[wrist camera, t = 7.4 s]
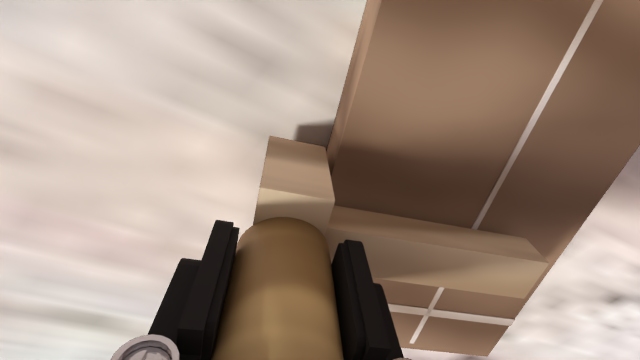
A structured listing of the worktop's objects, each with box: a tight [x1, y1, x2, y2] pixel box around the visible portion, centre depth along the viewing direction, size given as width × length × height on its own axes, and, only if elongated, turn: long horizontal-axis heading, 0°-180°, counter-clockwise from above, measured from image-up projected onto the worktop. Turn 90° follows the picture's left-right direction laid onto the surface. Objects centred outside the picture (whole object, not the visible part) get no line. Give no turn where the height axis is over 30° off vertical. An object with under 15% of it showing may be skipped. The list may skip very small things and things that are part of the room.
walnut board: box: [326, 0, 640, 356], centre depth 15 cm, size 22×12×3 cm, turn 166°
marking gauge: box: [211, 136, 549, 360], centre depth 12 cm, size 5×12×10 cm, turn 76°
